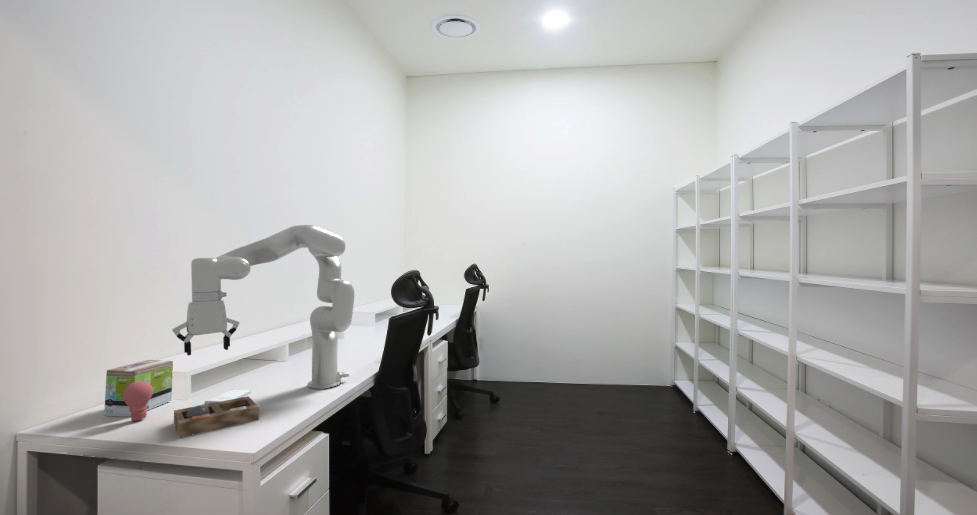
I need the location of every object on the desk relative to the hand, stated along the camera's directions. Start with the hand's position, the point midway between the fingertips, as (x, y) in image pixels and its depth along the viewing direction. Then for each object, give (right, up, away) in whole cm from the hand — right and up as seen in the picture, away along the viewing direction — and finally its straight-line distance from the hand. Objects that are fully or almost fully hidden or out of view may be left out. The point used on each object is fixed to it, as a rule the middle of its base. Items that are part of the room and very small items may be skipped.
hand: (207, 351), depth 127 cm
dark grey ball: (0, -18, -5) cm, 19 cm away
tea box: (-29, -21, +9) cm, 37 cm away
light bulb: (-21, -21, -1) cm, 30 cm away
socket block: (+4, -21, -2) cm, 22 cm away
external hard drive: (-6, -22, +20) cm, 30 cm away
